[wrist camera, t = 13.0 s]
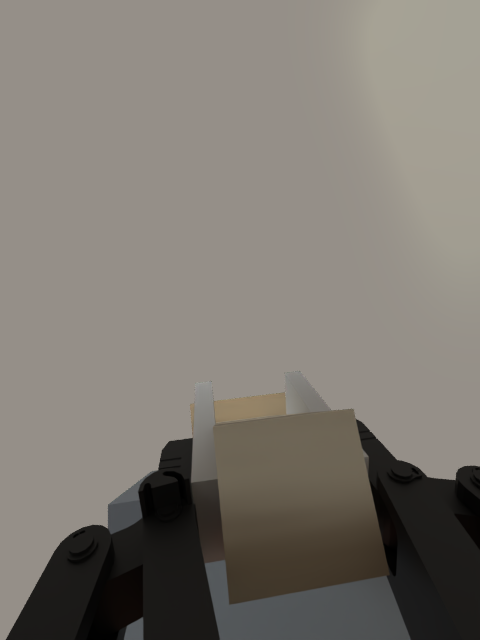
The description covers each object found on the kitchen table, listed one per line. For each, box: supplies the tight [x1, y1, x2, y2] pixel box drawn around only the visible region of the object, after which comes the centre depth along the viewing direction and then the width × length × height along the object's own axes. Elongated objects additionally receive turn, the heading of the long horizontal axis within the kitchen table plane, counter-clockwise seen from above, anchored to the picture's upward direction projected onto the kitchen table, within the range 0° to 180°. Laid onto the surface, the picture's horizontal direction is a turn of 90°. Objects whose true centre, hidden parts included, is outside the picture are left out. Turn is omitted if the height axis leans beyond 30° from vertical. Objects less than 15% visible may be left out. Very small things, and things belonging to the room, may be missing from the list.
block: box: [190, 393, 390, 605], centre depth 18 cm, size 23×7×5 cm, turn 4°
